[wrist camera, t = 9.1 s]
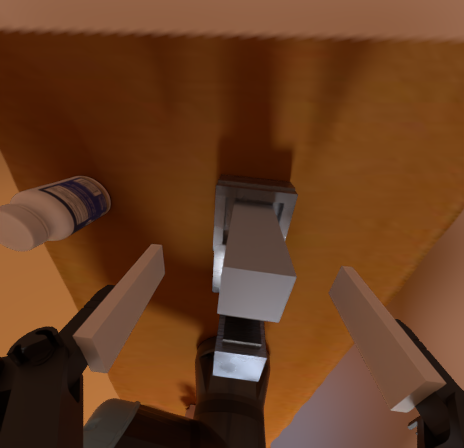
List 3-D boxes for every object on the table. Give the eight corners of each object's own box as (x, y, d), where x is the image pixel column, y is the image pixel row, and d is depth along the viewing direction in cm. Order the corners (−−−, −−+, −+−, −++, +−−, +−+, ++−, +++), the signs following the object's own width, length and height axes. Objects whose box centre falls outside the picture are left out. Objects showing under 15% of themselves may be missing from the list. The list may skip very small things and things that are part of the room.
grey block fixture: (264, 285, 27) (275, 391, 16) (215, 279, 27) (192, 379, 16) (290, 181, 19) (345, 250, 8) (221, 174, 20) (187, 231, 9)
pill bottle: (84, 217, 24) (4, 260, 16) (61, 178, 21) (-46, 206, 14) (119, 212, 23) (54, 255, 15) (99, 172, 21) (9, 198, 13)
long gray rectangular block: (263, 243, 20) (275, 329, 12) (229, 239, 21) (216, 321, 12) (273, 205, 18) (296, 277, 9) (234, 200, 18) (222, 266, 9)
